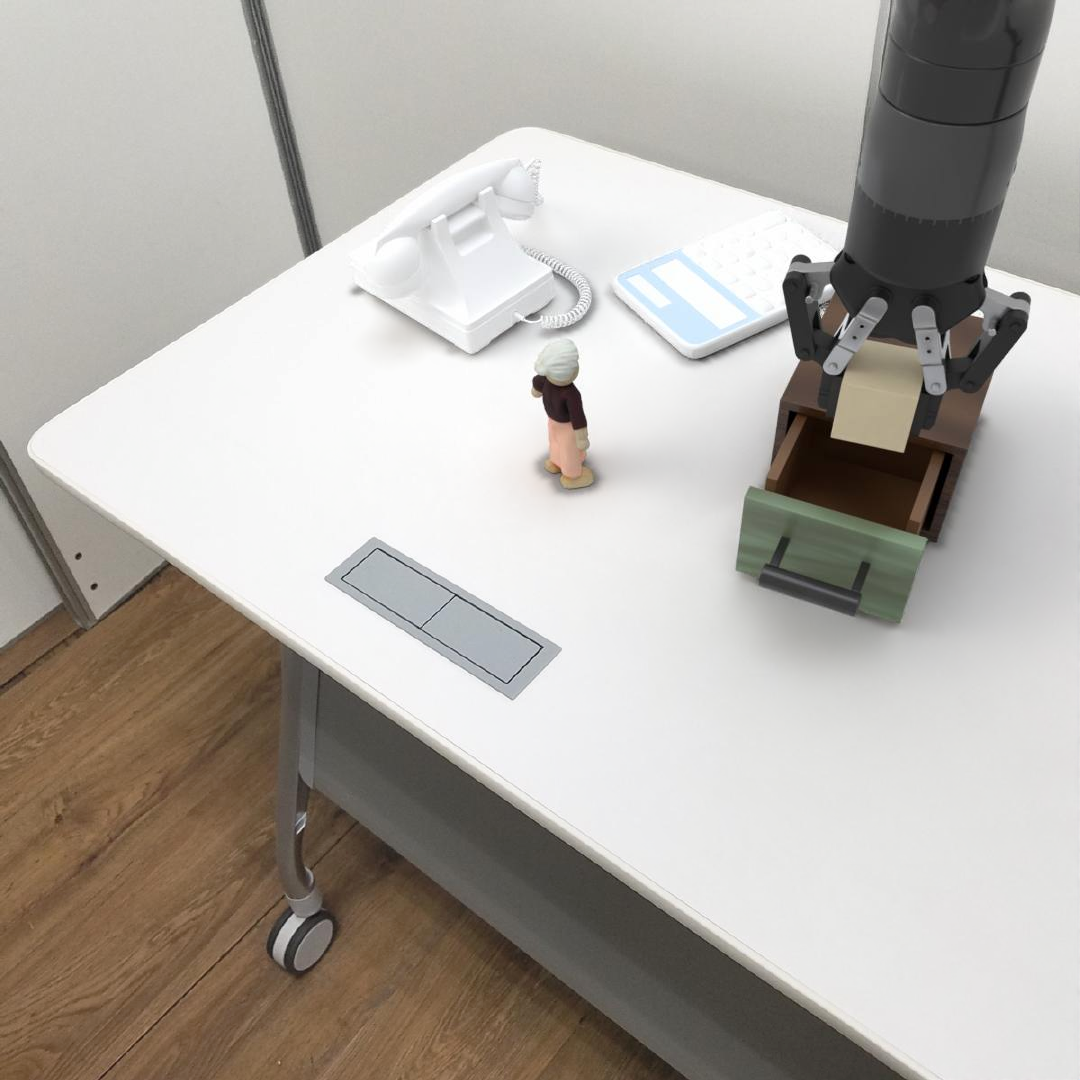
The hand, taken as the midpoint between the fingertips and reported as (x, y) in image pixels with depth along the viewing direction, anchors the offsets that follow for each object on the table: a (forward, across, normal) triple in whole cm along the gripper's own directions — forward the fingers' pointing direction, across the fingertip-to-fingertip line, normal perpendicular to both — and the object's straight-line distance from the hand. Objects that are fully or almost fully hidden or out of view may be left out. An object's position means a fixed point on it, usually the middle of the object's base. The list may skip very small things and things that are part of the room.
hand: (874, 417), depth 69 cm
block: (0, 0, 0) cm, 0 cm away
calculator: (+15, -16, +30) cm, 37 cm away
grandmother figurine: (+15, -22, +3) cm, 27 cm away
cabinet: (+15, 0, +12) cm, 19 cm away
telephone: (+15, -38, +24) cm, 47 cm away
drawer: (+14, -1, 0) cm, 14 cm away
